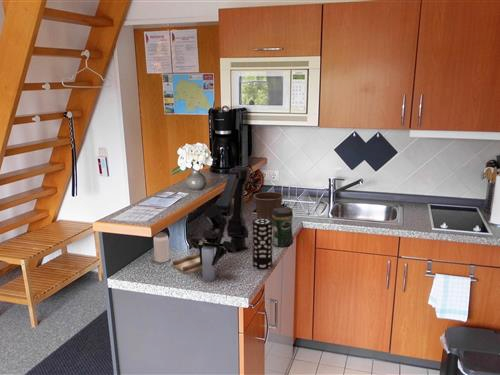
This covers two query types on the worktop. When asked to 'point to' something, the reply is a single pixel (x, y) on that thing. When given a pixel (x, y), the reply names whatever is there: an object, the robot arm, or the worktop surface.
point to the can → (161, 248)
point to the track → (188, 264)
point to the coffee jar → (282, 226)
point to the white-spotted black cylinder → (262, 243)
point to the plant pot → (267, 204)
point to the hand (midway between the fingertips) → (206, 264)
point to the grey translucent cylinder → (208, 263)
